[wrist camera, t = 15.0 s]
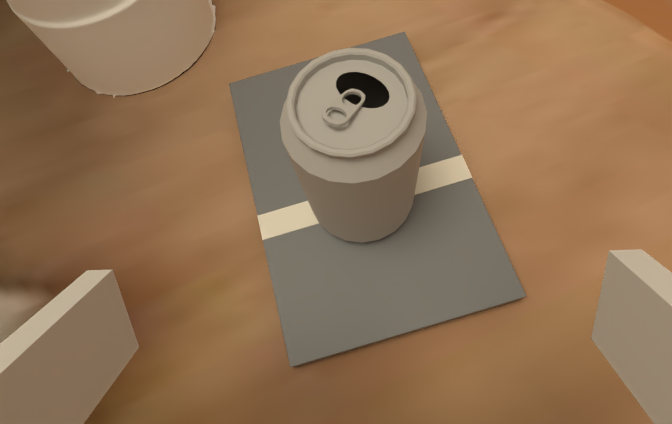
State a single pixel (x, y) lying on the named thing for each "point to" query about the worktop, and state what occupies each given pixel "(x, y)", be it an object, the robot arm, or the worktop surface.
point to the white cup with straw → (121, 39)
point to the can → (355, 141)
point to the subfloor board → (374, 256)
